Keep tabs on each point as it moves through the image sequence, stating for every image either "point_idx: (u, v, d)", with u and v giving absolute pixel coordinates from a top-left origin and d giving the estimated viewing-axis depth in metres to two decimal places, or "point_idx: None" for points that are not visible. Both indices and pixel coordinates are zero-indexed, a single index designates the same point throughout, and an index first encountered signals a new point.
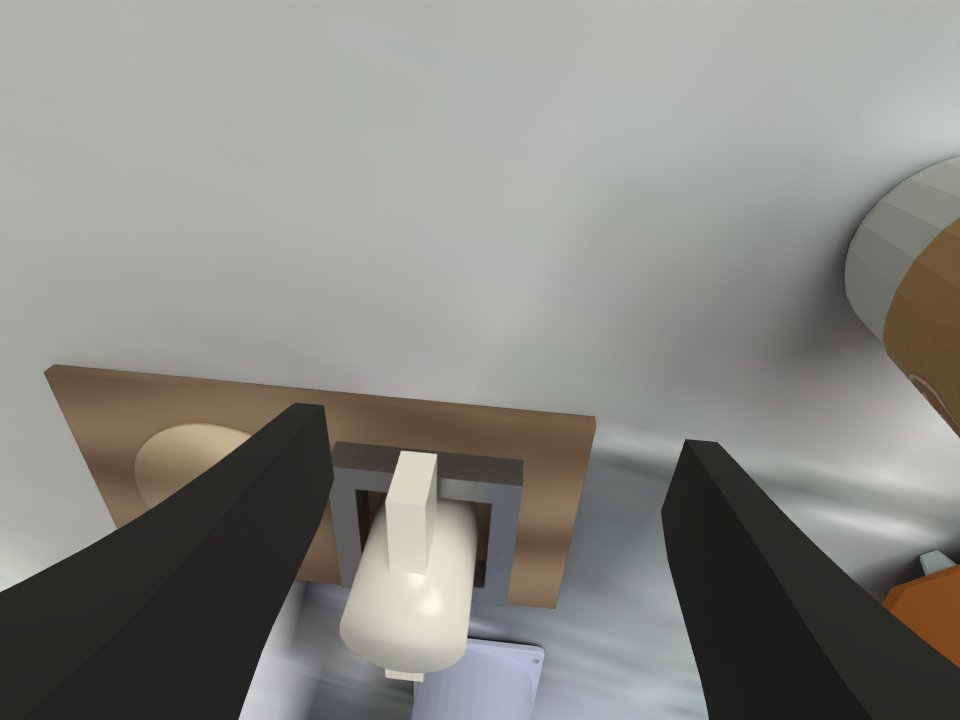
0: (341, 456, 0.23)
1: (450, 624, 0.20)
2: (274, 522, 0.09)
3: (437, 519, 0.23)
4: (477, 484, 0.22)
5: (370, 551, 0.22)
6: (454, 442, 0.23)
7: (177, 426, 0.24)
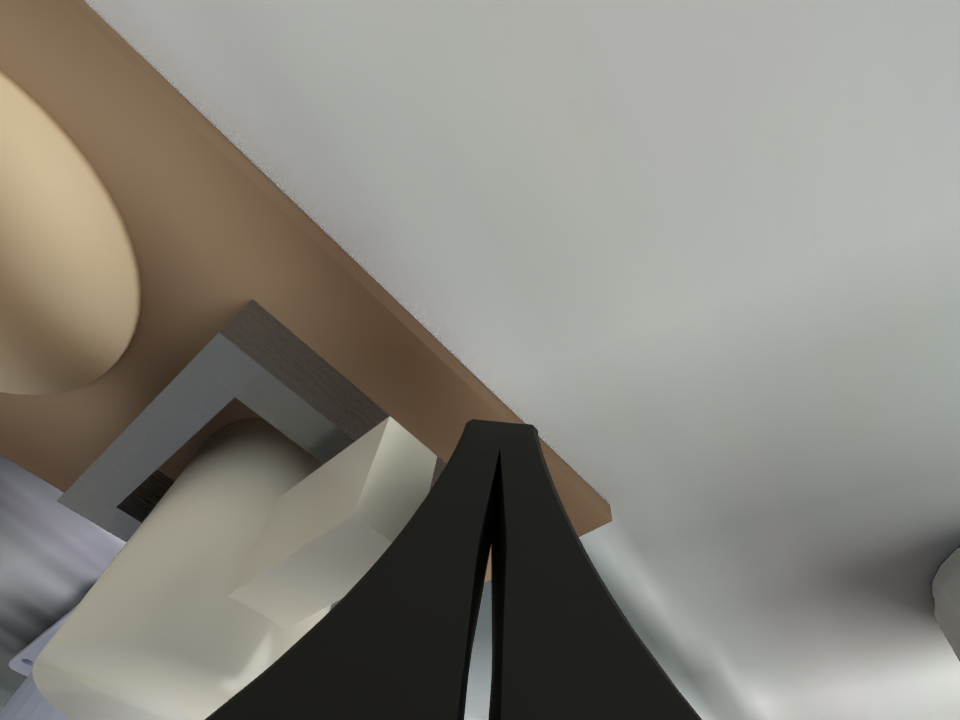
0: (252, 332, 0.12)
1: None
2: (484, 544, 0.09)
3: None
4: None
5: (193, 524, 0.11)
6: (428, 424, 0.14)
7: None
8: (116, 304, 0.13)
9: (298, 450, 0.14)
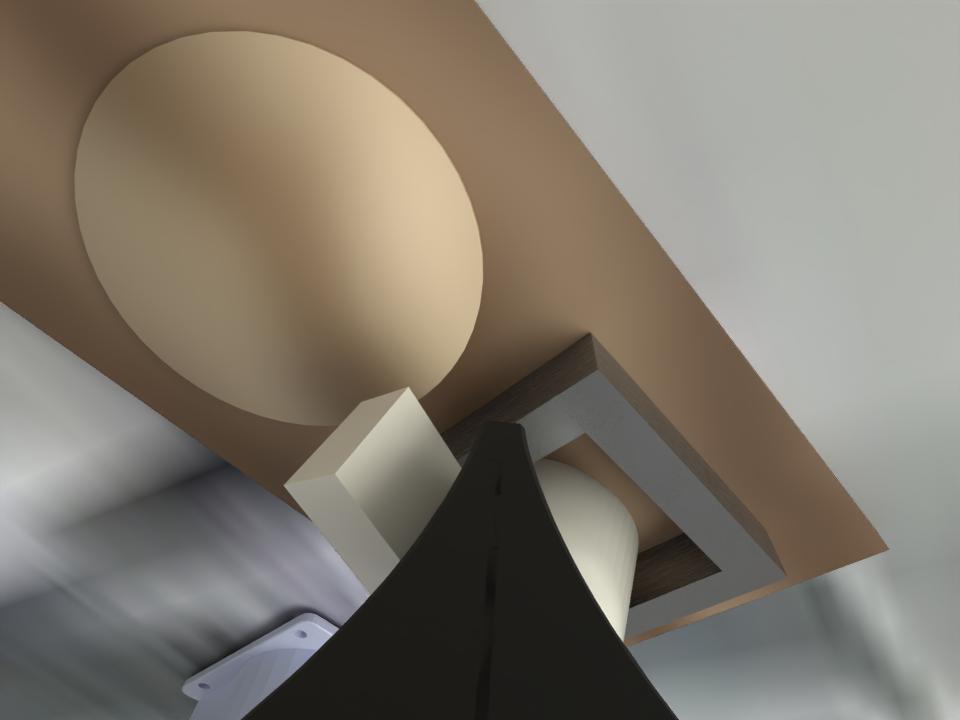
0: (608, 367, 0.12)
1: None
2: None
3: None
4: (745, 541, 0.13)
5: None
6: (729, 455, 0.14)
7: (355, 66, 0.10)
8: (451, 337, 0.12)
9: None
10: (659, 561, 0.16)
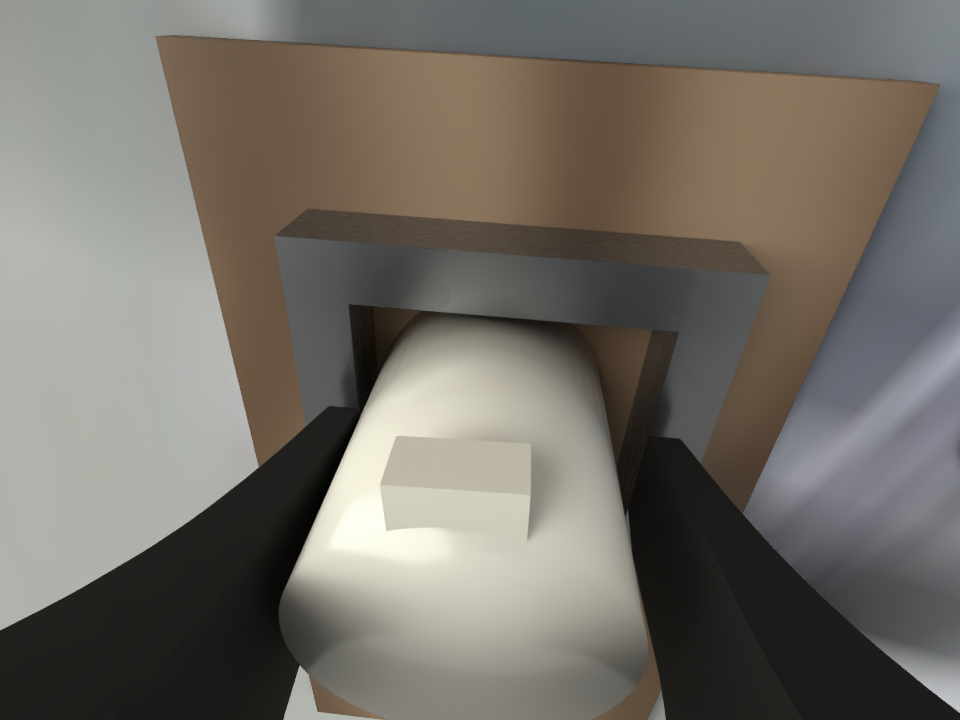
0: None
1: (340, 689, 0.08)
2: None
3: None
4: (299, 331, 0.10)
5: None
6: None
7: None
8: None
9: None
10: None
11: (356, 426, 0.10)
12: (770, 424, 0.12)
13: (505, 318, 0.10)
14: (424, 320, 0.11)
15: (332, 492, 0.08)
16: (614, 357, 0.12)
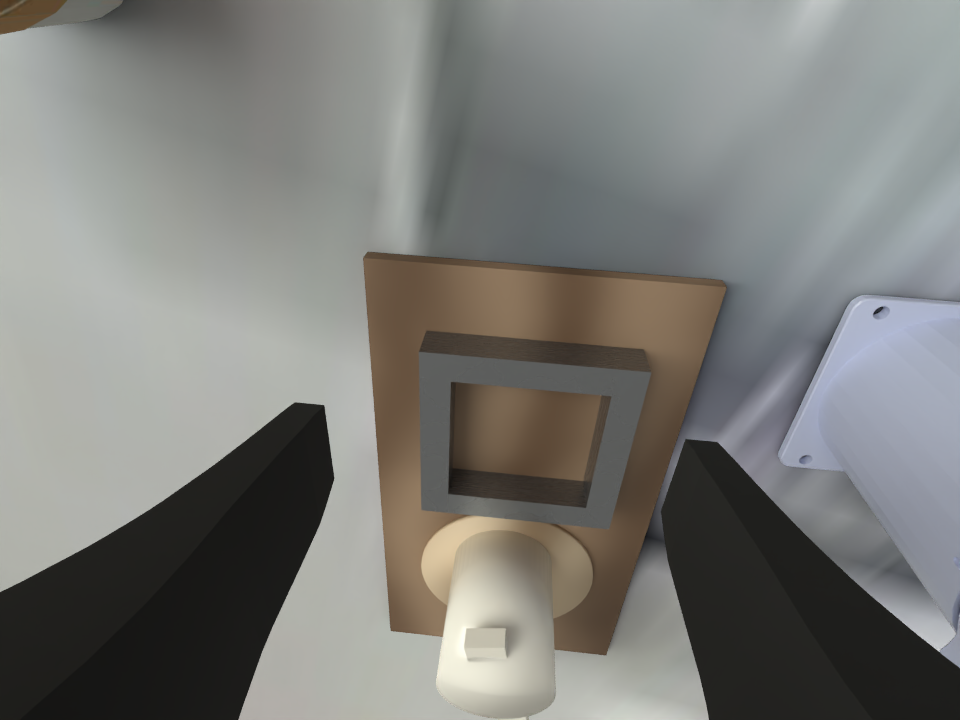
0: None
1: (457, 705, 0.23)
2: (275, 522, 0.09)
3: None
4: (424, 393, 0.20)
5: None
6: (412, 393, 0.22)
7: None
8: (476, 523, 0.26)
9: None
10: None
11: (449, 603, 0.25)
12: (670, 438, 0.23)
13: (501, 549, 0.25)
14: (469, 547, 0.26)
15: (446, 639, 0.23)
16: (583, 403, 0.22)
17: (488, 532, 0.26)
